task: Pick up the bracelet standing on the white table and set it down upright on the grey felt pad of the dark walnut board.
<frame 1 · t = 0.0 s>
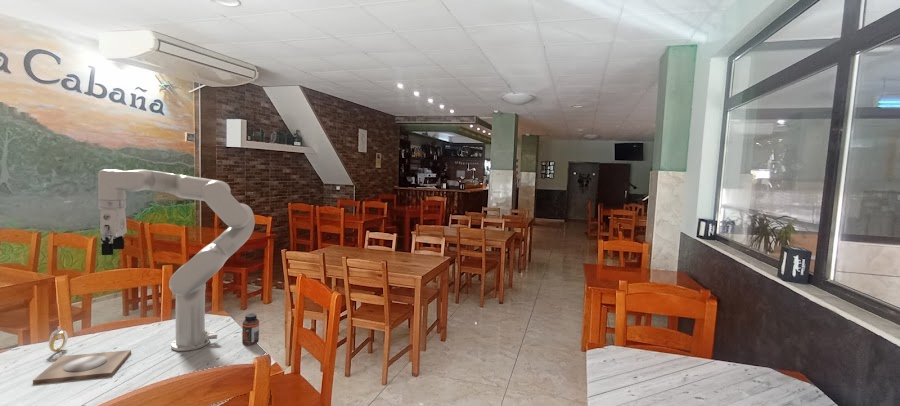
hand: (113, 251, 150), 37 cm above the table, tool pointing down, fingers open, 9 cm apart
walnut board: (85, 367, 141), on the table
supplement bottle: (250, 343, 166), on the table
bracelet: (58, 351, 151), on the table
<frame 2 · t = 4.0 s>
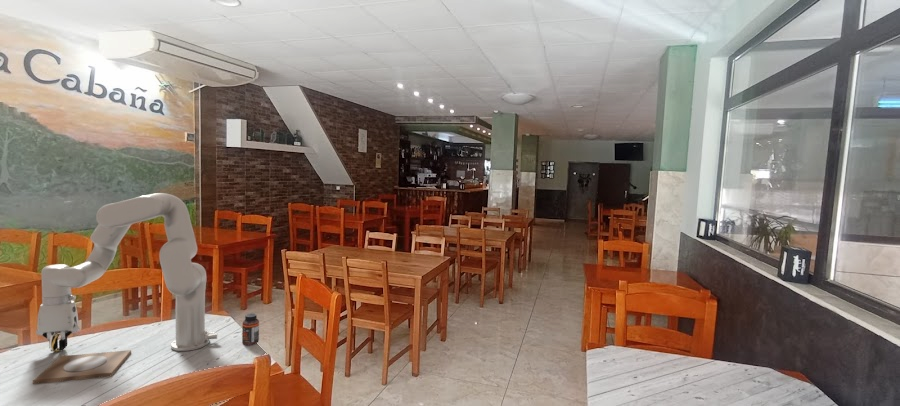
hand: (58, 349, 151), 1 cm above the table, tool pointing down, fingers closed on bracelet
bracelet: (58, 351, 151), on the table, touching gripper
everything else where it was.
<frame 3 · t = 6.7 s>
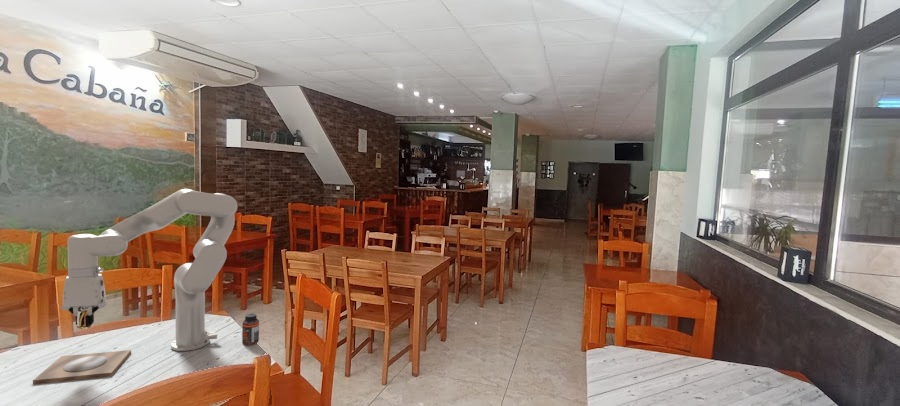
hand: (85, 325, 140), 14 cm above the table, tool pointing down, fingers closed on bracelet
bracelet: (84, 329, 140), point 13 cm above the table, touching gripper
everything else where it was.
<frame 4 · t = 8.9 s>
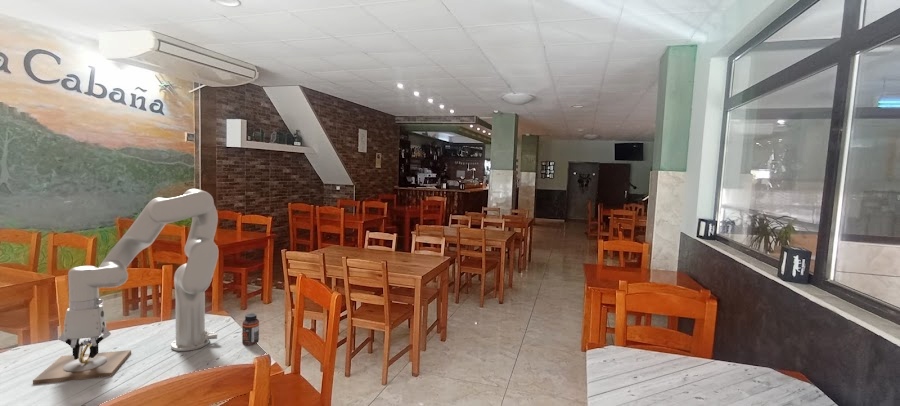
hand: (85, 356, 141), 4 cm above the table, tool pointing down, fingers open, 3 cm apart
bracelet: (86, 363, 141), point 1 cm above the table, touching walnut board
everything else where it was.
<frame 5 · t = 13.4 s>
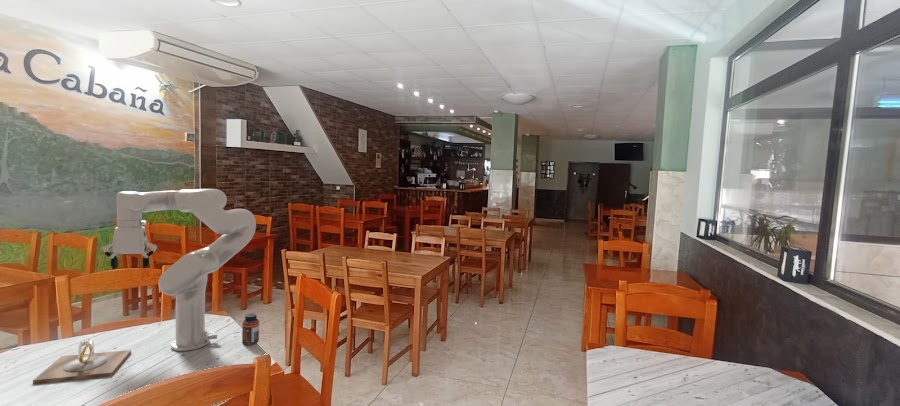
hand: (130, 268, 161), 28 cm above the table, tool pointing down, fingers open, 9 cm apart
nothing on the table moved.
at the end: bracelet inside the target area on the walnut board (0.2 cm from its centre), point 1.3 cm above the walnut board's base; the gripper is holding nothing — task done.
